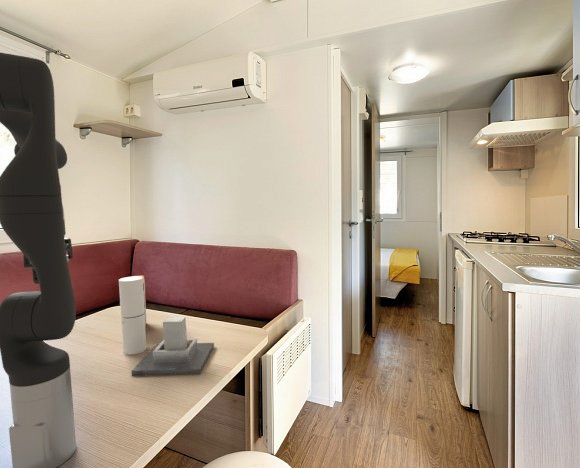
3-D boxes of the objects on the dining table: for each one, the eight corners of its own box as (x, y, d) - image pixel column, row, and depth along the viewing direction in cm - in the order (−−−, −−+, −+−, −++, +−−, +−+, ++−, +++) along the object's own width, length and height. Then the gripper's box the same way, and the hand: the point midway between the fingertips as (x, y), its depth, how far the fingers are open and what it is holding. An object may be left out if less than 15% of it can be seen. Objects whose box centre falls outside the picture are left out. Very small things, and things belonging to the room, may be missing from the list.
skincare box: (187, 352, 104) (186, 316, 103) (183, 358, 99) (182, 321, 98) (169, 352, 104) (167, 317, 103) (164, 359, 99) (162, 321, 98)
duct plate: (200, 374, 93) (199, 357, 92) (131, 375, 93) (130, 359, 92) (214, 346, 111) (213, 333, 110) (156, 348, 111) (155, 334, 110)
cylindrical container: (137, 355, 105) (132, 281, 103) (118, 353, 107) (113, 280, 104) (150, 346, 112) (146, 276, 110) (132, 344, 114) (128, 276, 111)
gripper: (40, 219, 76) (46, 285, 78) (78, 217, 90) (83, 273, 92) (8, 220, 76) (15, 286, 78) (52, 218, 90) (56, 274, 92)
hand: (52, 279), depth 85 cm, fingers open, 8 cm apart
